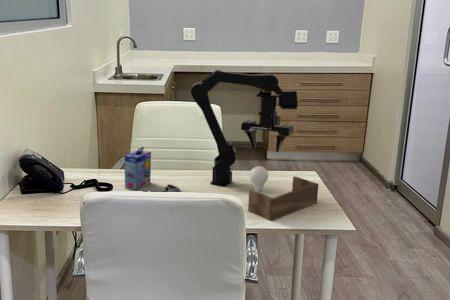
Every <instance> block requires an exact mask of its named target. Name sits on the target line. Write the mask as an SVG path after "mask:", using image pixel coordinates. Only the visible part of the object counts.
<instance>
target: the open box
mask: <svg viewBox="0 0 450 300" xmlns="http://www.w3.org/2000/svg"><path fill="white" fill-rule="evenodd" d="M291 187H292V189H291V191H288V192H286V193H283V194H281V195H277V196H274V197H271V196H268V195H266V194H263V193H262V194H261V193H258V192H255V190H252V189H250V190H249V191H248V207H247V209H248V210H247V212H249V213H252V214H254V215H257V216H259V217H261V218H263V219H266V220H268V221H271V222H272V221H275V220H277V219H280V218H283V217H286V216H288V215H291V214H293V213H296V212H298V211H301V210H304V209H306V208H308V207H311V206H315V205H316V204H317V203H318V192H319V183H316V182H314V181H311V180H308V179H304V178H302V177H299V176H296V175H295V176H293V177H292V186H291Z"/></svg>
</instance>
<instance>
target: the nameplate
mask: <svg viewBox="0 0 450 300" xmlns="http://www.w3.org/2000/svg"><path fill="white" fill-rule="evenodd" d="M163 192H181V189H180V187H179V186H176V185H174V184H172V183H171V184H170V183H169V184H167V185H166V186H165V187H164V190H163Z"/></svg>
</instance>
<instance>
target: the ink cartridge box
mask: <svg viewBox="0 0 450 300" xmlns="http://www.w3.org/2000/svg"><path fill="white" fill-rule="evenodd" d="M144 148H145V146H141V147H140V148H138V149H137V150H135V151H133V152H130V153H128V154H126V155H124V188H127V189H131V190H134V191H137V190H139V189H141V188H143V187H145V186H147V185H148V184H150V183H151V170H152V169H151V168H152V165H151V163H152V159H151V158H152V152H151V151H148V150H144Z"/></svg>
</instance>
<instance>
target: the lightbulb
mask: <svg viewBox="0 0 450 300" xmlns="http://www.w3.org/2000/svg"><path fill="white" fill-rule="evenodd" d="M249 178H250V182H252V184H253V188H254V191H255V192H258V193H261V194H263V189H264V186H265V184H266V182H267V181H268V178H269V172H268V170H267V169H266V168H265V167H263V166H262V165H261V166H260V165H258V166H254V167H253V168H252V169H251V170H250V172H249Z"/></svg>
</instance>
